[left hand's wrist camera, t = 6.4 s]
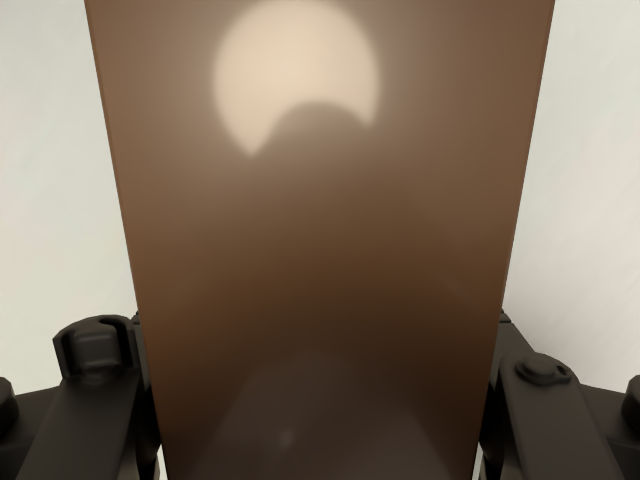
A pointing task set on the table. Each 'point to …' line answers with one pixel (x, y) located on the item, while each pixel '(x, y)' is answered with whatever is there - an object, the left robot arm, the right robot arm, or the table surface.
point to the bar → (319, 222)
